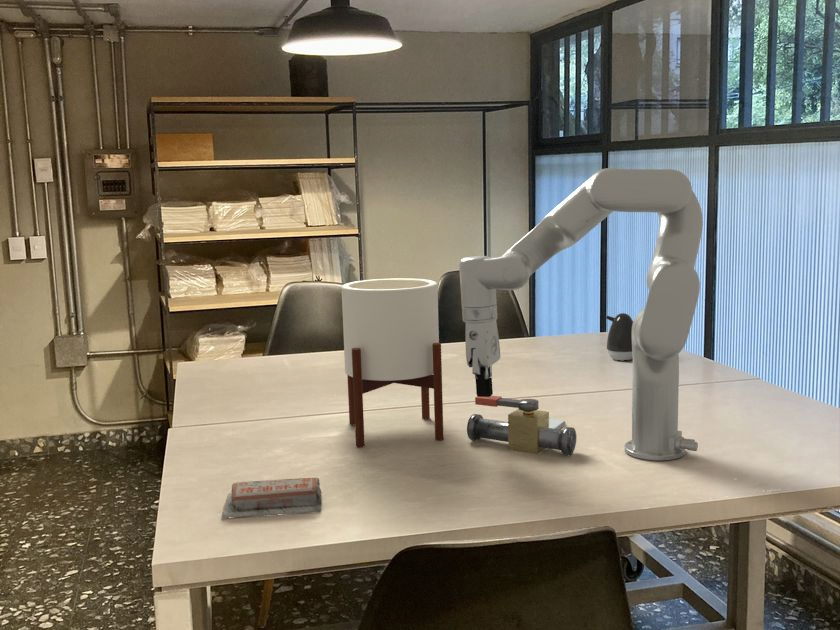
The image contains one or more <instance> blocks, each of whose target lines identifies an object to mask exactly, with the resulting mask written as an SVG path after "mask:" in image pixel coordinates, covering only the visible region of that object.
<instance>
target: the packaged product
mask: <svg viewBox="0 0 840 630" xmlns="http://www.w3.org/2000/svg"><path fill="white" fill-rule="evenodd" d="M322 494H323V493H322V489H321V486H320V478H318V477H303V478H301V477H300V478H284V479H283V478H282V479H267V480H255V481H252V480H251V481H239V482H235V483H232V485H231V492H230V493H227V496H226V499H225V504H224V507H223V510H222V514H221V518H222V519H223V518H229V517H240V518H250V517H249V516H258V517H267V516H266V515H276V516H279V515H278V514H288V515H296V514H295V513H300V514H308V513H309V514H310V512H316V513H321V512H322ZM264 515H265V516H264Z"/></svg>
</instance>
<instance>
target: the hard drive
mask: <svg viewBox="0 0 840 630" xmlns="http://www.w3.org/2000/svg"><path fill="white" fill-rule="evenodd" d="M565 426H566V421H565V420H564V419H557V418H556V419H555V418H549V428H553V429H560V430H561V429H562V428H563V427H565ZM561 427H562V428H561Z"/></svg>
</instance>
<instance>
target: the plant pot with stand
mask: <svg viewBox="0 0 840 630" xmlns="http://www.w3.org/2000/svg"><path fill="white" fill-rule="evenodd" d="M438 289H439V288H438V283H437V282H436V281H435V280H431V279H427V278H426V279H425V278H410V277H409V278H407V277H406V278H405V277H404V278H402V277H401V278H400V277H399V278H398V277H396V278H375V279H364V280H356V281H352V282H351V281H350V282H347V283H344V284H343V285H342V286H341V305H342V307H341V308H342V330H343V351H344V352H343V353H344V372H345V375H347V397H348V400H347V401H348V415H349V416H348V420H349V422H348V423H349V425H350V424H355V425H354V433H355V434H354V435H355V447H356V446H357V447H356V448H364V447H365V445H366V444H365V443H366V442H365V424H364V423H365V422H364V421H365V420H364V419H365V418H364V401H363V399H364V398H363V397H364V394H366V393H369V392H372V391H375V390H378V389H380V388H384V387H386V386H389V385H391V384H392V385H393V384H396V385H397V384H399V385H404V386H405V385H406V386H412V387H418V388H419V387H420V395H421V399H420V400H421V419H422V420H430V419H431V415H430V414H431V413H430V411H431V410H430V389H433V407H434V409H433V410H434V411H433V412H434V440H435V441H439V442H440V441H444V409H443V406H444V404H443V371H442V369H443V367H442V366H443V365H442V363H443V362H442V342H440V338H439V337H440V336H439V335H440V330H439V328H440V326H439V299H438V298H439V297H438V295H439V294H438V292H439V291H438ZM363 446H364V447H363Z"/></svg>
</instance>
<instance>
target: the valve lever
mask: <svg viewBox="0 0 840 630" xmlns="http://www.w3.org/2000/svg"><path fill="white" fill-rule="evenodd" d="M474 403H475V405H477V406H484V407H485V406H487V407H494V408H496V407H504V408H505V407H506V408H516V409H517V410H518V409H519V410H522V411H535V410H538V411H539V410H540V409H539V400H538V399H534V398H522V399H516V398H507V397H506V398H505V397H502V396H499V395H498V396H497V395H491V396H490V397H478V396H477V395H476V396H475V398H474Z"/></svg>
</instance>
